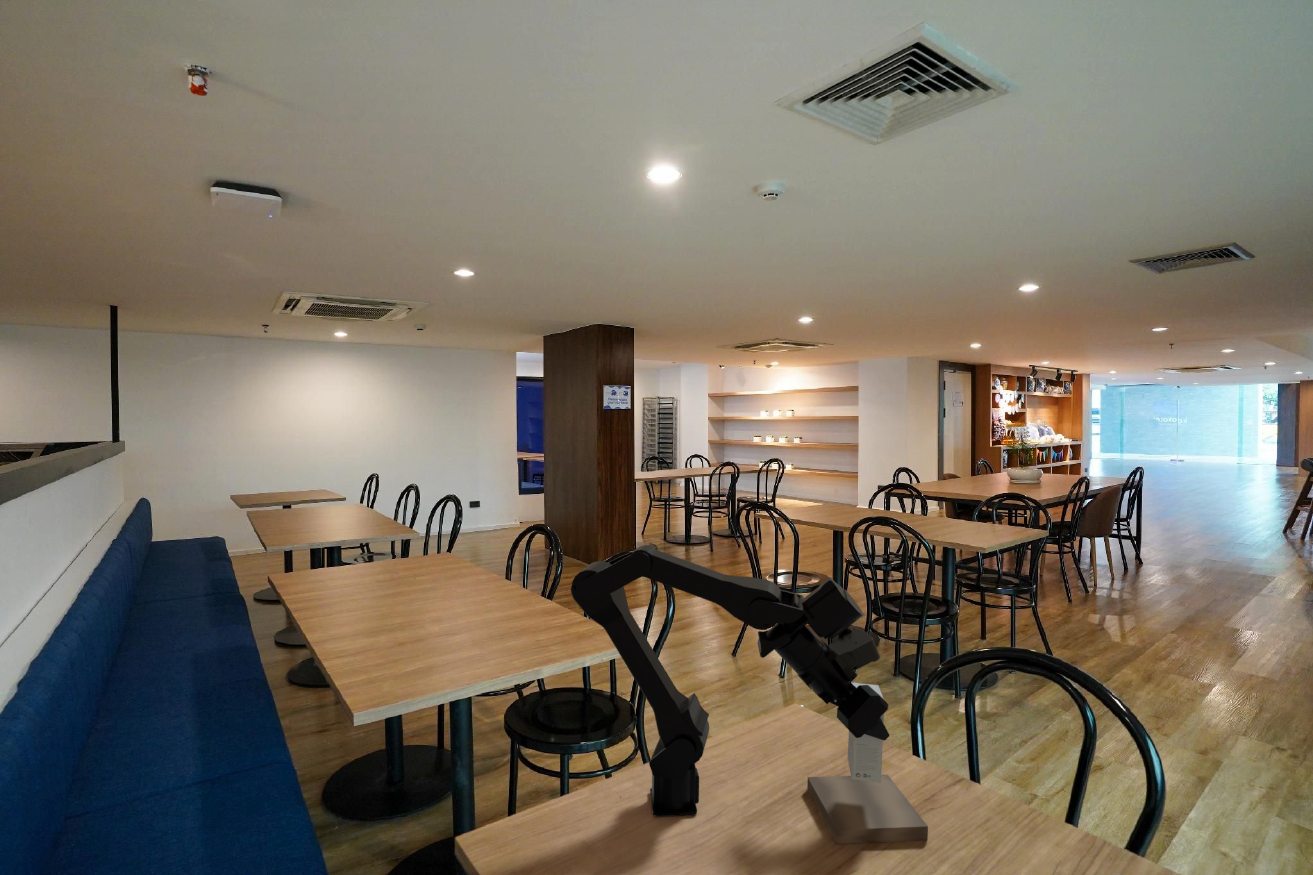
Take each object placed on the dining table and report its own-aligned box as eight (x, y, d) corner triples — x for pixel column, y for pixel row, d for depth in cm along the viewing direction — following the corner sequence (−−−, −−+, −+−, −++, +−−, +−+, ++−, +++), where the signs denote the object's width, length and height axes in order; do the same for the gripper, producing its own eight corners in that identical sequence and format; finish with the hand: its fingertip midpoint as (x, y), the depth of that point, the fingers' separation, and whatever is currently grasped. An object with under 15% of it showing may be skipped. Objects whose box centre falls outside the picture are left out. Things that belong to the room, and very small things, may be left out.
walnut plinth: (836, 843, 91) (837, 829, 91) (807, 789, 104) (807, 776, 104) (927, 840, 92) (928, 826, 92) (887, 786, 105) (887, 774, 105)
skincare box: (882, 783, 95) (885, 701, 94) (851, 780, 95) (854, 698, 95) (876, 761, 101) (879, 684, 100) (846, 758, 101) (849, 681, 101)
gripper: (877, 637, 87) (949, 715, 89) (819, 596, 105) (880, 661, 108) (818, 698, 86) (893, 776, 88) (769, 646, 104) (832, 711, 107)
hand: (874, 725), depth 98 cm, fingers closed on skincare box, 7 cm apart
